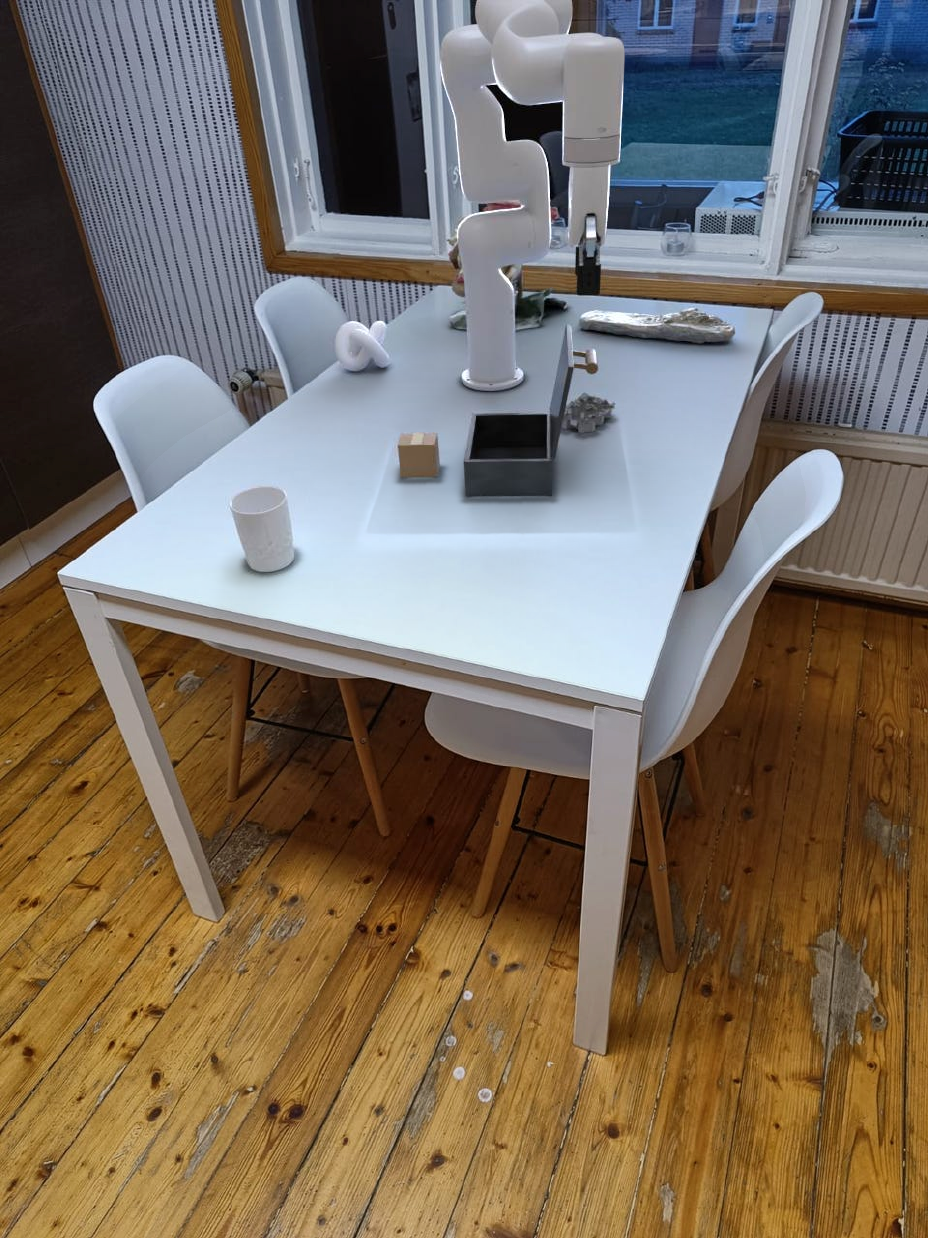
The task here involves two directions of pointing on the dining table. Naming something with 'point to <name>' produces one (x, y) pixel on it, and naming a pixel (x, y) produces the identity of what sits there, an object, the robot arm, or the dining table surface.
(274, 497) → the white cup
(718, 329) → the long grey stone
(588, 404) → the grey rock
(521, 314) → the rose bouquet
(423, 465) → the package
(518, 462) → the chest
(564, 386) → the lid
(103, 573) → the dining table surface
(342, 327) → the white knot sculpture
